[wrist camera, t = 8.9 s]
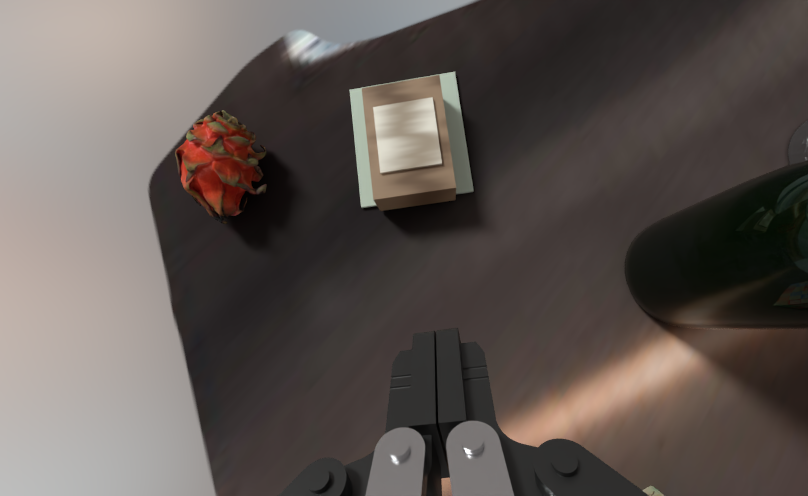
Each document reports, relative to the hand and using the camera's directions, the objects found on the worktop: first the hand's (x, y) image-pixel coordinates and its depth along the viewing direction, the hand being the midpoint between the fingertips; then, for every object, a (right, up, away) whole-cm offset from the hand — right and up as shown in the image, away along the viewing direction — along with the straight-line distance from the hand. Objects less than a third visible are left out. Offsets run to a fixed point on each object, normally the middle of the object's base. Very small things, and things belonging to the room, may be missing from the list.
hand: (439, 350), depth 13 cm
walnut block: (0, +8, +26) cm, 28 cm away
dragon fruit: (-20, +11, +32) cm, 39 cm away
